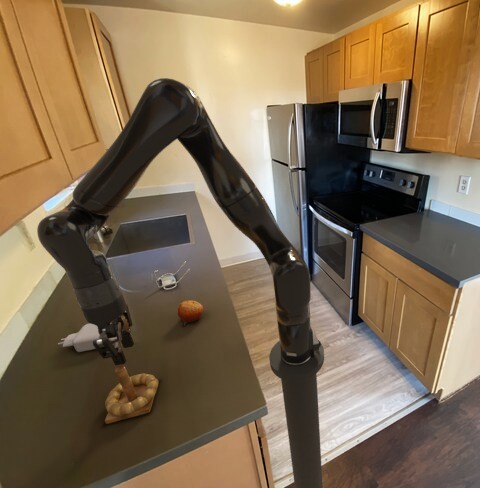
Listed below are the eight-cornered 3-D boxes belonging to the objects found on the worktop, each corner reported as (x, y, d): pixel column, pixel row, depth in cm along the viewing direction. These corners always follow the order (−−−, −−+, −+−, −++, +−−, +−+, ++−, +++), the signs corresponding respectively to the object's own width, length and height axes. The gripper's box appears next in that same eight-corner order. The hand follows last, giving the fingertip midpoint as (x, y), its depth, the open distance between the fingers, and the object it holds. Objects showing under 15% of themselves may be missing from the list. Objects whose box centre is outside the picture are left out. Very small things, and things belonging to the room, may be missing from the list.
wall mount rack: (155, 278, 124) (151, 266, 122) (187, 269, 131) (184, 258, 129) (159, 293, 112) (155, 281, 110) (194, 283, 119) (191, 271, 117)
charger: (70, 337, 90) (122, 327, 94) (54, 358, 82) (112, 347, 86) (64, 326, 88) (118, 316, 92) (47, 346, 80) (106, 335, 84)
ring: (162, 373, 75) (160, 367, 74) (153, 409, 65) (150, 402, 64) (116, 385, 72) (113, 378, 71) (100, 424, 62) (96, 417, 61)
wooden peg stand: (158, 381, 74) (146, 350, 69) (149, 412, 66) (135, 379, 61) (120, 391, 72) (105, 359, 67) (106, 424, 64) (88, 390, 59)
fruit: (170, 317, 96) (178, 296, 96) (192, 317, 102) (200, 298, 102) (177, 328, 91) (186, 306, 90) (201, 328, 96) (208, 307, 96)
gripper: (107, 313, 56) (133, 373, 62) (130, 278, 68) (150, 331, 75) (62, 321, 54) (94, 382, 60) (95, 283, 66) (118, 338, 73)
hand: (125, 354), depth 68 cm, fingers open, 5 cm apart
